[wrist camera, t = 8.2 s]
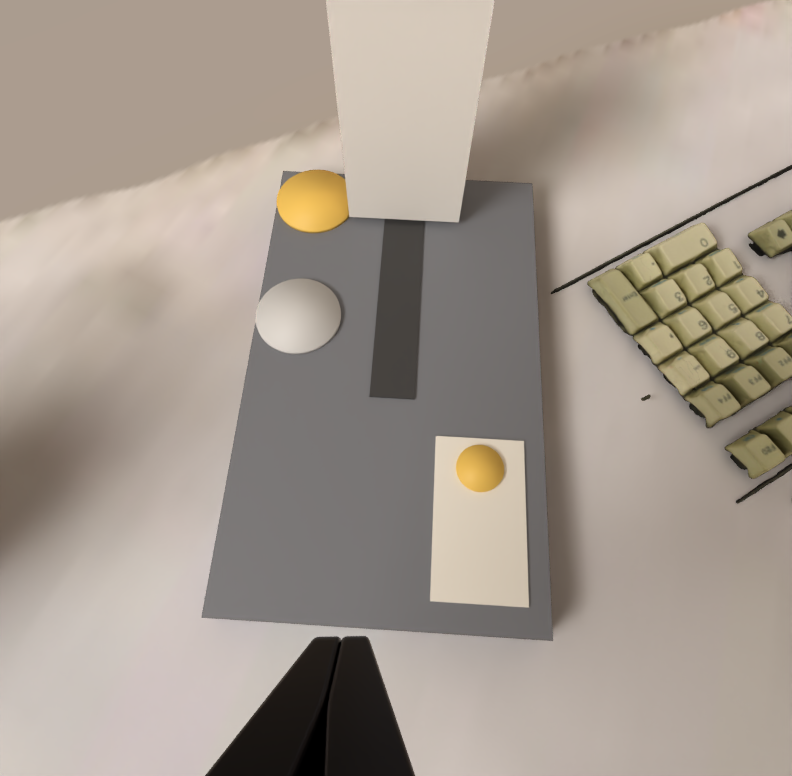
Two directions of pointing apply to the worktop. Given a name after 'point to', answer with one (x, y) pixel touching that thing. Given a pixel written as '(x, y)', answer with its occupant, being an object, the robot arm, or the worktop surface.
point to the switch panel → (391, 424)
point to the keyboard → (709, 328)
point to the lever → (407, 102)
